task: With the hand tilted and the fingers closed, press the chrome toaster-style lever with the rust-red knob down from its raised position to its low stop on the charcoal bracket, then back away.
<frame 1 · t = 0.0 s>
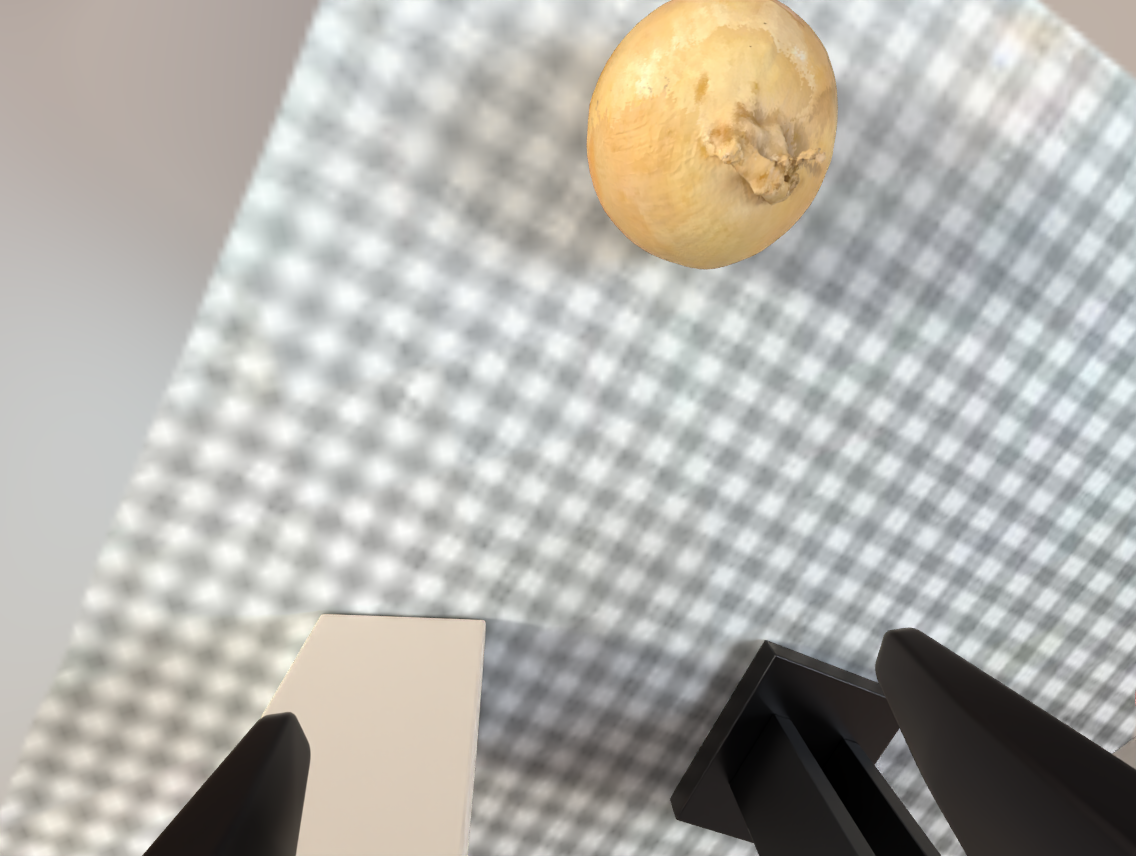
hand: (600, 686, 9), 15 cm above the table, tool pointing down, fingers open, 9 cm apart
bracket: (782, 744, 29), on the table
onion: (681, 159, 22), on the table
lever: (1038, 846, 18), point 10 cm above the table, hinge at 12.0°
milk carton: (404, 679, 26), on the table
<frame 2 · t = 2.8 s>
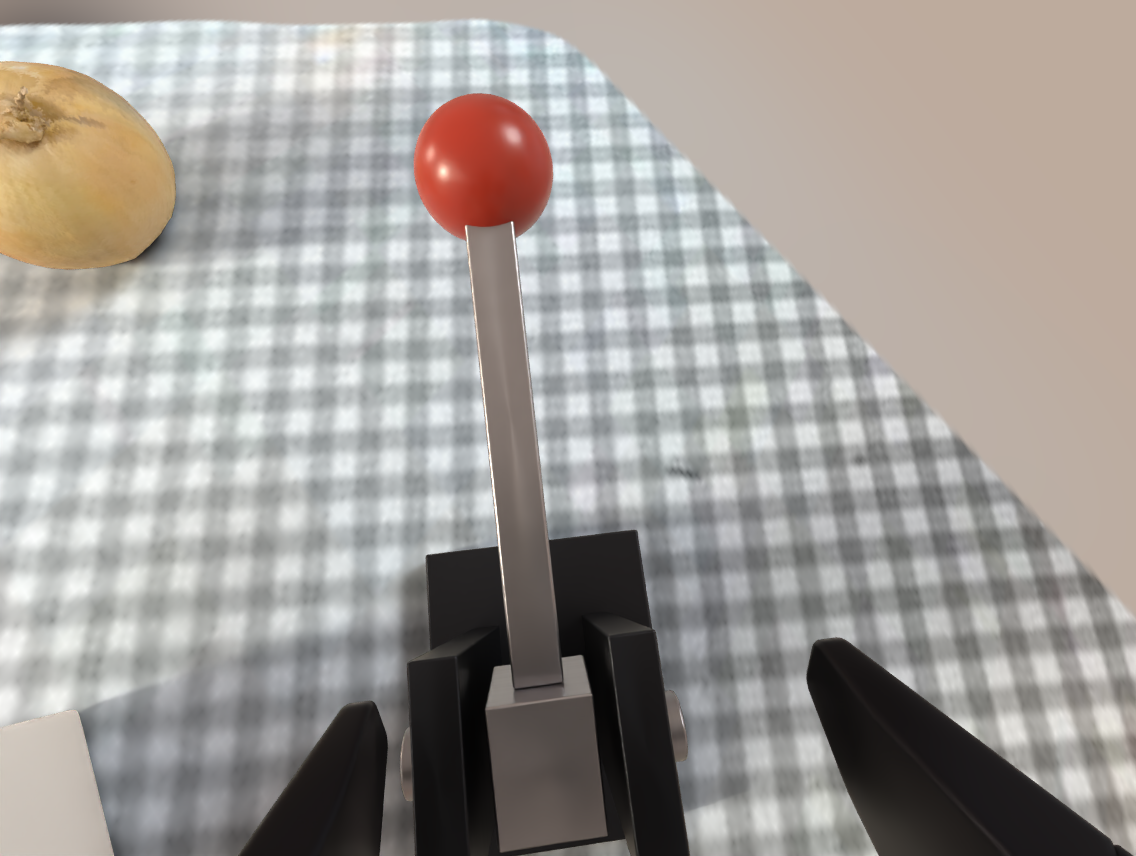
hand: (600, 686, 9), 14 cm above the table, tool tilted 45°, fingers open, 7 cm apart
bracket: (547, 680, 21), on the table
onion: (115, 219, 26), on the table
lever: (513, 444, 13), point 10 cm above the table, hinge at 12.0°
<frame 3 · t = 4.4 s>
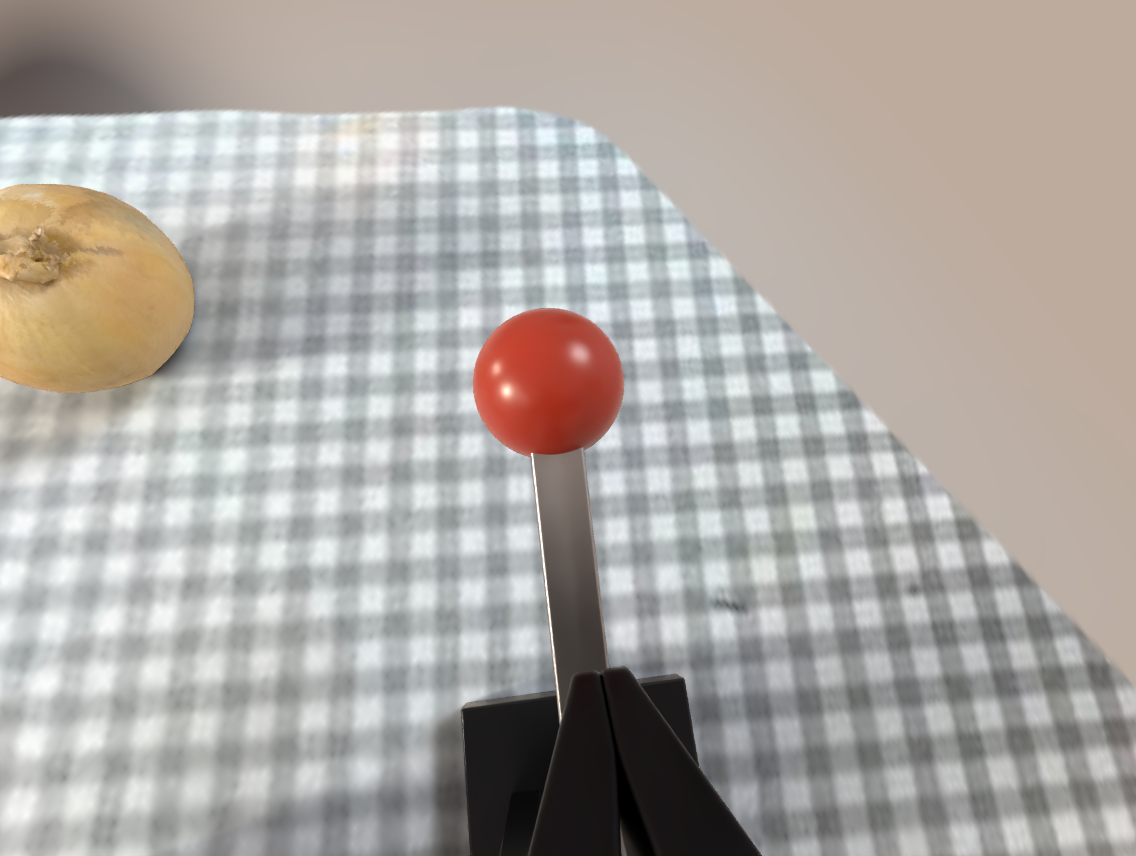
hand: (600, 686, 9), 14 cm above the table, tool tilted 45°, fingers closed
bracket: (590, 842, 20), on the table
onion: (130, 327, 25), on the table
lever: (583, 691, 12), point 10 cm above the table, hinge at 12.0°
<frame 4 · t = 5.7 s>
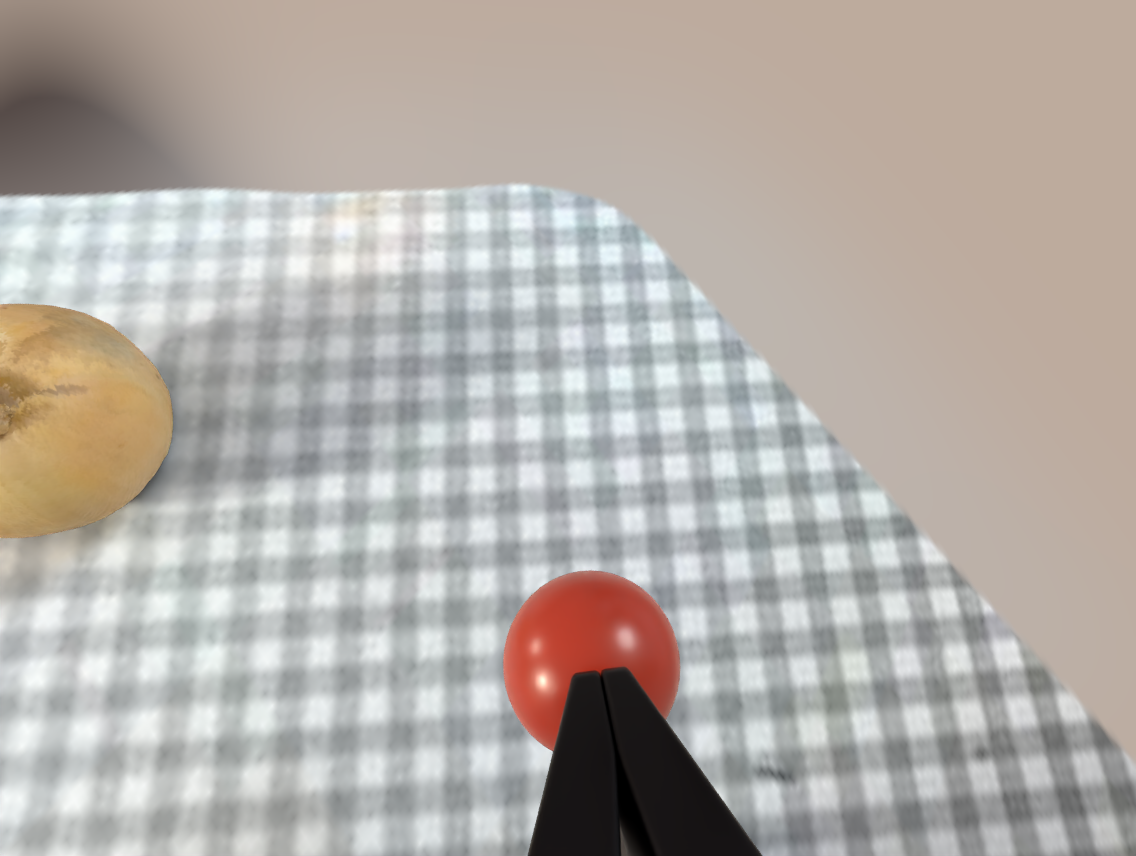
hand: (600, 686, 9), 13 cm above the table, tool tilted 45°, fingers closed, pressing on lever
onion: (103, 443, 22), on the table
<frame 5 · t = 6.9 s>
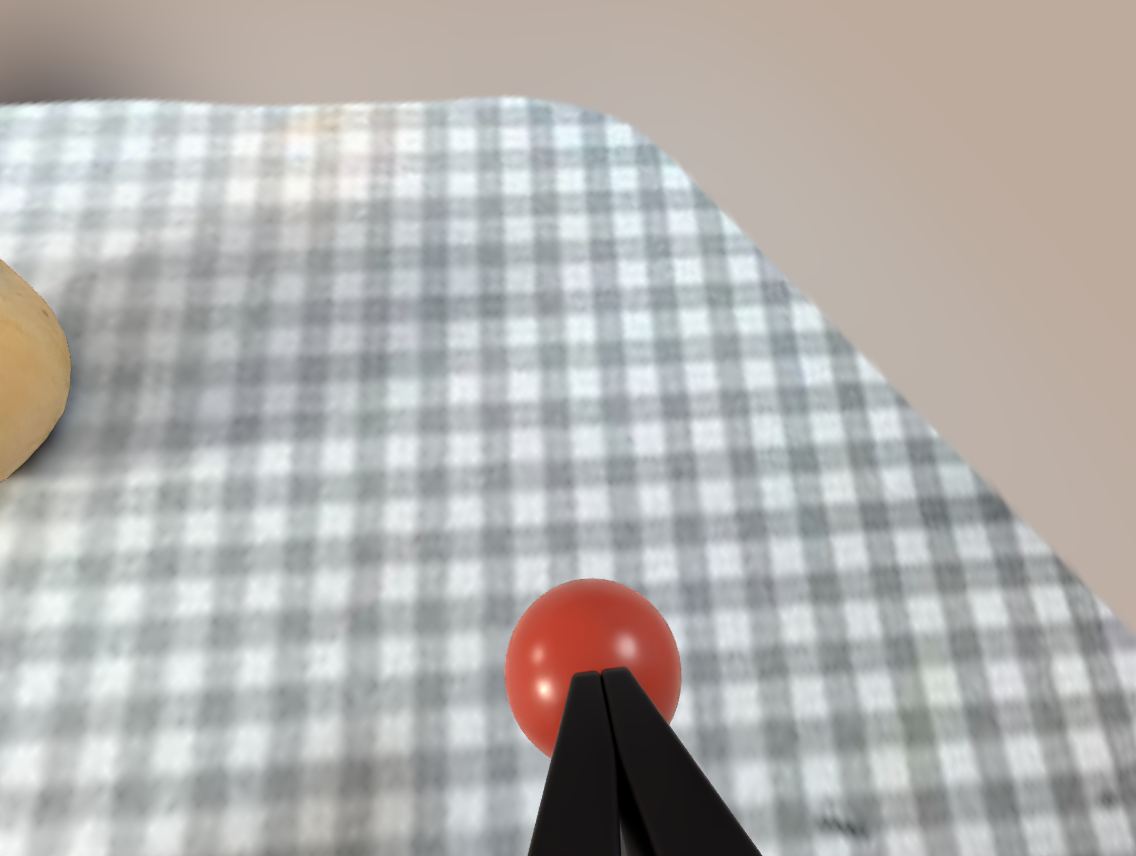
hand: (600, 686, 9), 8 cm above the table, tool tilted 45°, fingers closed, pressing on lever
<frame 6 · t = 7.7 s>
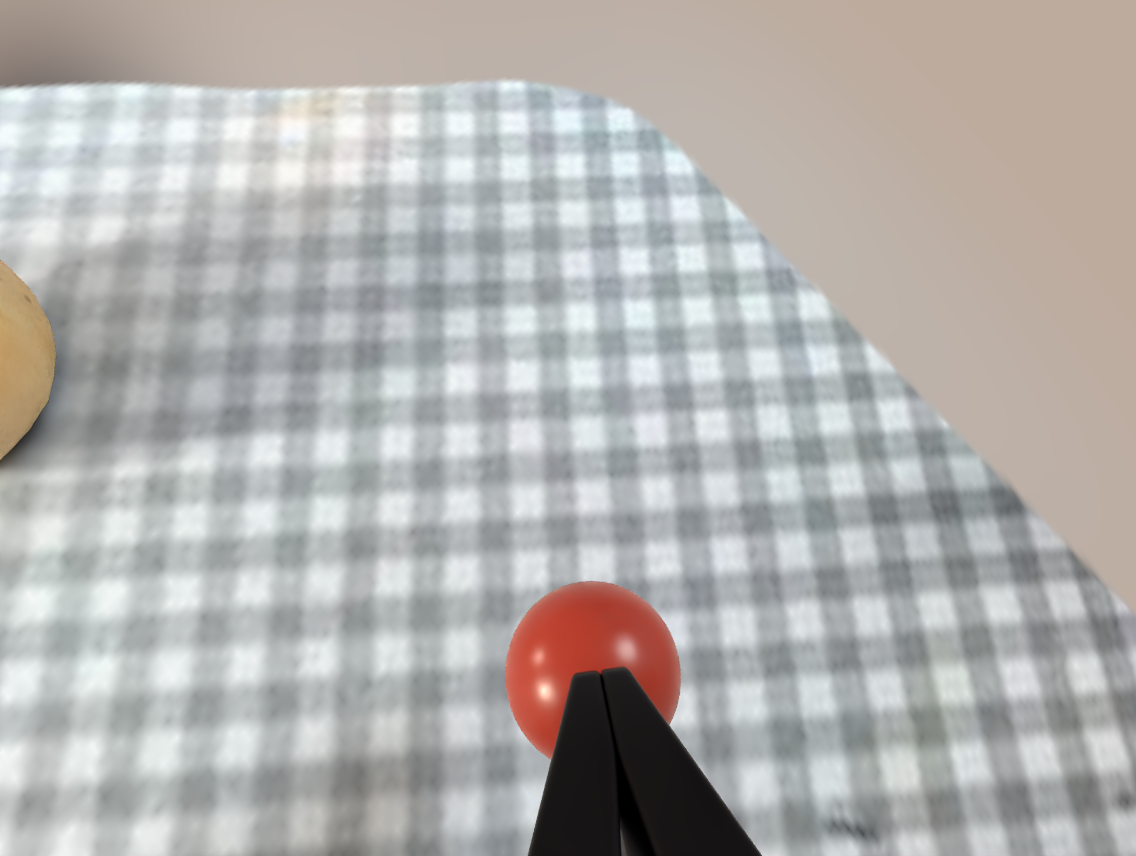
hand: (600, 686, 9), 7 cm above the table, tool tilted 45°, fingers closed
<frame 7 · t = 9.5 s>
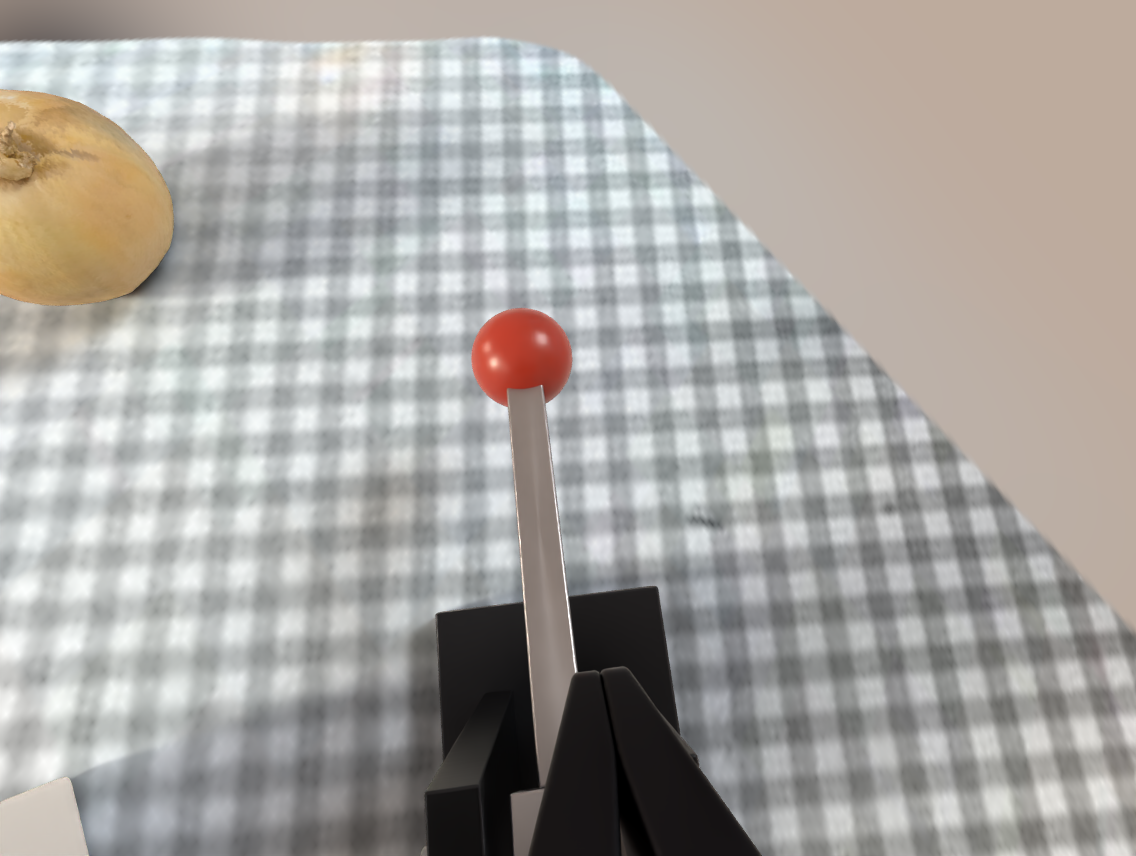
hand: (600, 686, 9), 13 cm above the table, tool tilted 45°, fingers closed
bracket: (563, 745, 20), on the table
onion: (111, 249, 25), on the table
lever: (541, 551, 15), point 7 cm above the table, hinge at -15.9°
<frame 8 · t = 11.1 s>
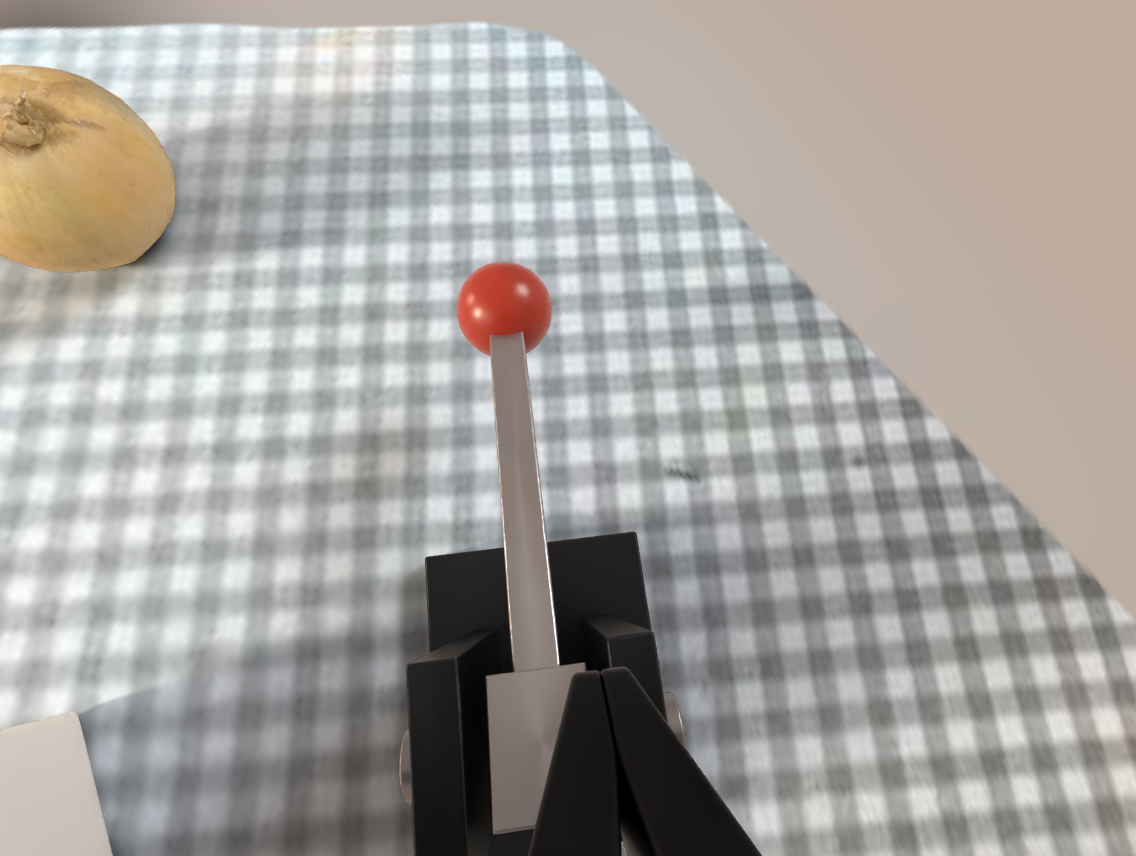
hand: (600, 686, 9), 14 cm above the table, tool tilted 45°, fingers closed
bracket: (546, 682, 21), on the table
onion: (115, 222, 26), on the table
lever: (520, 478, 16), point 7 cm above the table, hinge at -15.9°
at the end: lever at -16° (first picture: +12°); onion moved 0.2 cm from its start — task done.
